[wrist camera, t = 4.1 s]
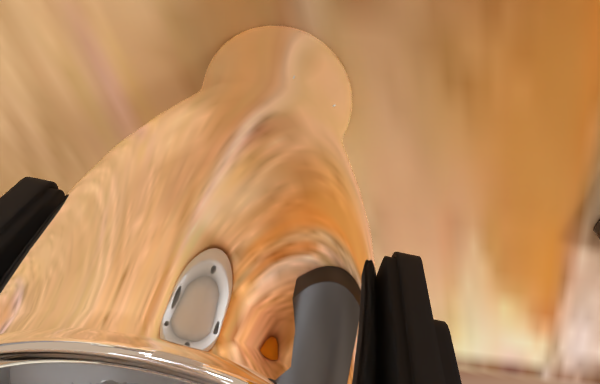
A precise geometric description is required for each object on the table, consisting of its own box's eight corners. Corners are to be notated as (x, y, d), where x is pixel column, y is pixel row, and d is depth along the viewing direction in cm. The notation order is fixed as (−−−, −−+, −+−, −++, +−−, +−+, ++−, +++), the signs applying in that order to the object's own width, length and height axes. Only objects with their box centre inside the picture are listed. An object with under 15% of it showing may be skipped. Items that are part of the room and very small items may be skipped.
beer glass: (329, 192, 21) (301, 625, 9) (181, 145, 21) (-81, 539, 8) (391, 47, 17) (499, 440, 5) (213, -16, 17) (-186, 251, 4)
